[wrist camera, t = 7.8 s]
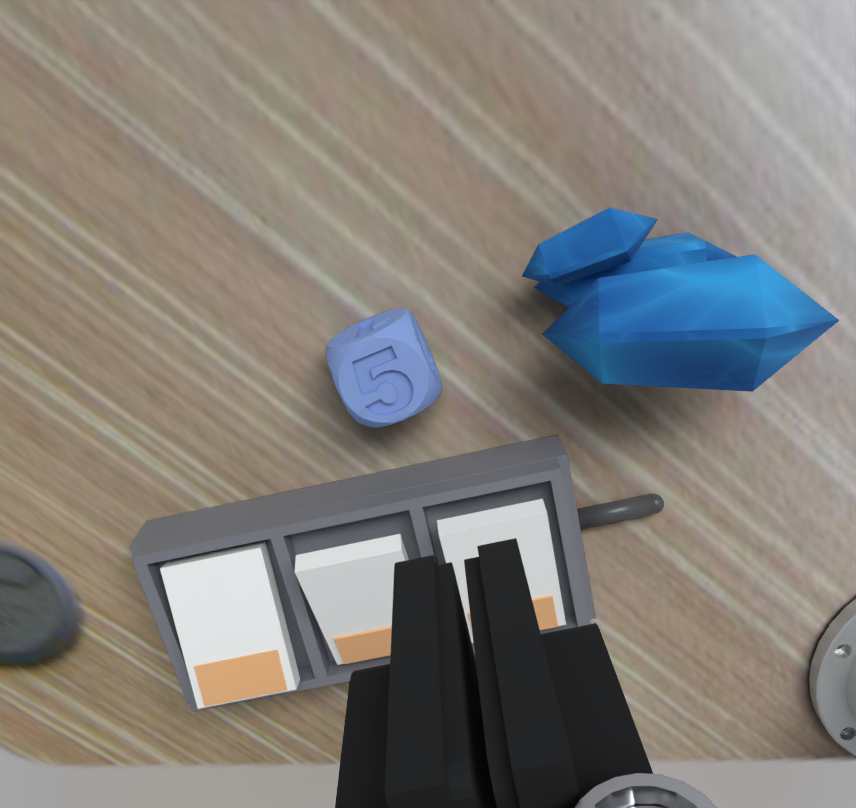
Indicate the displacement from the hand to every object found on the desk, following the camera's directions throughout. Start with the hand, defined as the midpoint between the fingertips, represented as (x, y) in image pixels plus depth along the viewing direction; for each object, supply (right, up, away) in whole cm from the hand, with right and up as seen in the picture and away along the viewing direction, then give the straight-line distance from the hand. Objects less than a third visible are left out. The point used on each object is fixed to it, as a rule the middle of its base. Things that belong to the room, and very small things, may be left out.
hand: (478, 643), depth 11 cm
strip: (-1, -4, +30) cm, 30 cm away
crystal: (+9, +9, +26) cm, 29 cm away
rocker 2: (+3, -4, +27) cm, 27 cm away
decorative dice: (-3, +6, +27) cm, 28 cm away
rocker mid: (-4, -6, +27) cm, 28 cm away
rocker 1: (-10, -7, +27) cm, 30 cm away
